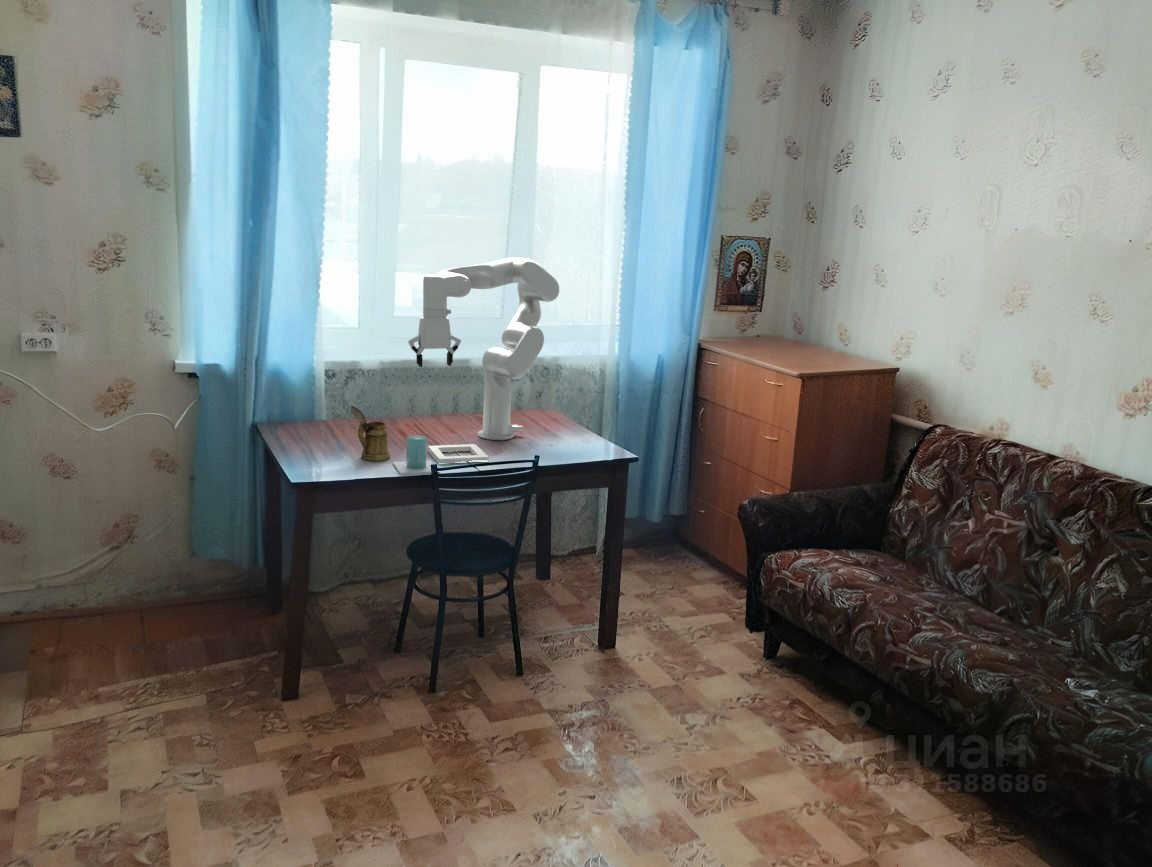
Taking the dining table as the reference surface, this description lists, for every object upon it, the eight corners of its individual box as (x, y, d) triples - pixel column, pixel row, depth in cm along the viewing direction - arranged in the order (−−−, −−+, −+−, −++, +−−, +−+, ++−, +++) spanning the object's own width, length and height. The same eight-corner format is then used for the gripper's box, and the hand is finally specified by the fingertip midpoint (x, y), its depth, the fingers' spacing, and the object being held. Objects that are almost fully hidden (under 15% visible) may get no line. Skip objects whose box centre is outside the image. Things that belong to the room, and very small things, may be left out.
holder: (475, 449, 329) (475, 444, 329) (488, 462, 315) (488, 456, 314) (427, 451, 323) (428, 445, 323) (439, 464, 309) (439, 459, 308)
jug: (404, 463, 305) (405, 435, 303) (424, 463, 307) (424, 435, 305) (409, 471, 298) (410, 443, 295) (429, 470, 300) (429, 442, 297)
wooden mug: (343, 458, 309) (343, 402, 305) (380, 452, 318) (380, 398, 314) (358, 465, 303) (359, 408, 299) (395, 459, 312) (396, 403, 308)
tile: (430, 462, 311) (430, 460, 311) (439, 473, 300) (439, 471, 300) (392, 464, 307) (392, 462, 306) (400, 474, 296) (400, 473, 296)
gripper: (457, 311, 324) (457, 362, 329) (405, 312, 318) (405, 364, 322) (464, 314, 317) (463, 367, 322) (411, 315, 311) (411, 368, 315)
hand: (434, 365), depth 322 cm, fingers open, 9 cm apart
